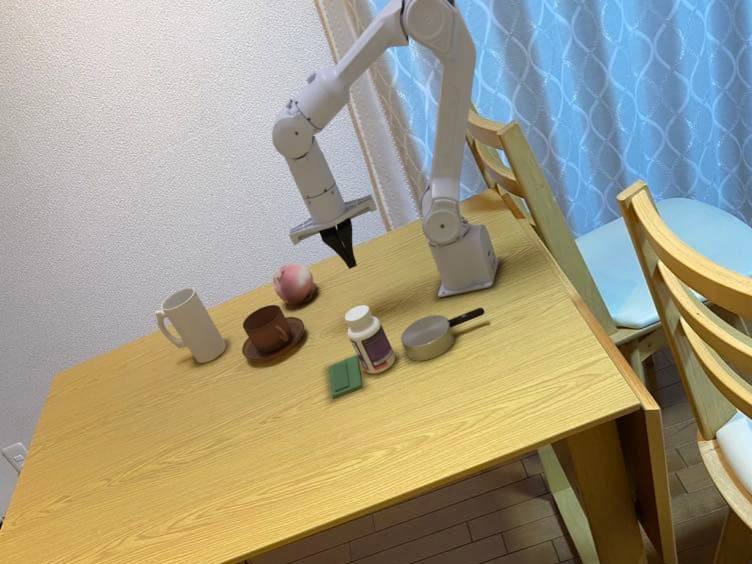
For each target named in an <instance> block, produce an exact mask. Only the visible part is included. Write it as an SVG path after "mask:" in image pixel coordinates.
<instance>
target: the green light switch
mask: <svg viewBox="0 0 752 564" xmlns="http://www.w3.org/2000/svg"><path fill="white" fill-rule="evenodd" d="M328 371H329V380H330V391H331V397H332V399H333V400H334V399H337V398H339V397H342V396H343V395H346V394H349V393H352V392H355V391H357V390H360V389H362V388H363V381H362V374H361V367H360V359H359V357H358V355H357V354H356V355H354V356H353V355H352V356H350V357H348V358H346V359H344V360H340V361H338V362H335V363H332V364H331V365H328Z"/></svg>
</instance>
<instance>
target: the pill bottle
mask: <svg viewBox="0 0 752 564" xmlns="http://www.w3.org/2000/svg"><path fill="white" fill-rule="evenodd" d="M344 319H345V322H346V324H347V326H348V329H347V336H348V339H349V341H350V343H351V345H352V348H353V349H354V351H355V353H356V355H357V356H358V360H359V362H360V363H361V366H362V367H363V369H364V371H365V372H366V373H368V374H373V375H375V374H379V373H383V372H384V371H386V370H388V369H389V368H390V367H392V366H393V364H394V362H395V361H396V354H395V352H394V350H393V348H392V346H391V343H390V341H389V339H388V336H387V334H386V332H385V329H384V327H383V326H382V323H381V321H380V320H379V318H377V317H376V316H373V314H372V312H371V309H370V307H369V306H368V305H364V304H363V305H362V304H361V305H358V306H355V307H353V308H351V309H350V310H348V311H347V312H346V314H345V315H344Z"/></svg>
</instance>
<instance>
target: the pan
mask: <svg viewBox="0 0 752 564" xmlns="http://www.w3.org/2000/svg"><path fill="white" fill-rule="evenodd" d="M484 314H485V309H484V308H483V307H478V308H475V309H473V310H470V311H468V312H466V313H462V314H460V315H458V316H455V317H453V318H450V319H449V318H447V317H446V316H444V315H439V314H435V315H434V314H433V315H427V316H424V317H422V318H419V319H418V320H415V321H413V322H412V323H411V324H409V325H408V326H407V327H406V328H405V329H404V331H403V332H402V334H401V337H400V341H401V343H402V346H403V348H404V351H405V354H406V355H407V357H408V358H409V359H410V360H413V361H419V362H421V361H429V360H431V359H434V358H437V357H439V356H441V355H442V354H445V352H447V351H448V350H449V349H450V348H451V347H452V345H453V344H454V342H455V338H456V336H455V333H454V330H453V327H456V326H458V325H462V324H464V323H466V322H469V321H471V320H474V319H476V318H479V317H482V316H483V315H484Z"/></svg>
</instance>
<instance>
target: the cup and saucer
mask: <svg viewBox="0 0 752 564" xmlns="http://www.w3.org/2000/svg"><path fill="white" fill-rule="evenodd" d="M242 329H243V330H244V332H245V334H246V335H247V338H246V340H245V341H244V343H243V345H242V349H241V352H242V355H243V357H245V358H246V359H247V360H249V361H254V362H265V361H266V362H267V361H269V360H273V359H277V358H279V357H280V356H283V355H284V354H286V353H287V352H289V351H290V350H291V349H293V348H294V347H295V346H296V345H297V344H298V343H299V342H300V340H301V338H302V336H303V334H304V331H305V324H304V322H303V320H302V319H300V318H299V317H296V316H285V315H284V312H283V310H282V308H281V306H280V305H276V304H268V305H265V306H263V307H259V308H258V309H256V310H254V311H253V312H252V313H250V314H249V315H247V317H245V318H244V320H243V323H242Z"/></svg>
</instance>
